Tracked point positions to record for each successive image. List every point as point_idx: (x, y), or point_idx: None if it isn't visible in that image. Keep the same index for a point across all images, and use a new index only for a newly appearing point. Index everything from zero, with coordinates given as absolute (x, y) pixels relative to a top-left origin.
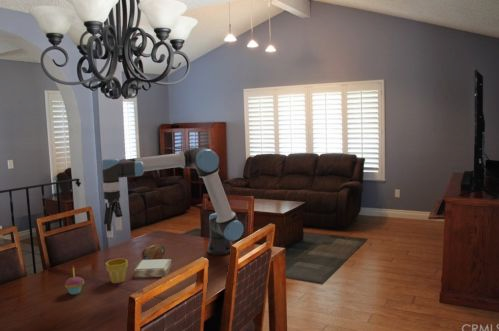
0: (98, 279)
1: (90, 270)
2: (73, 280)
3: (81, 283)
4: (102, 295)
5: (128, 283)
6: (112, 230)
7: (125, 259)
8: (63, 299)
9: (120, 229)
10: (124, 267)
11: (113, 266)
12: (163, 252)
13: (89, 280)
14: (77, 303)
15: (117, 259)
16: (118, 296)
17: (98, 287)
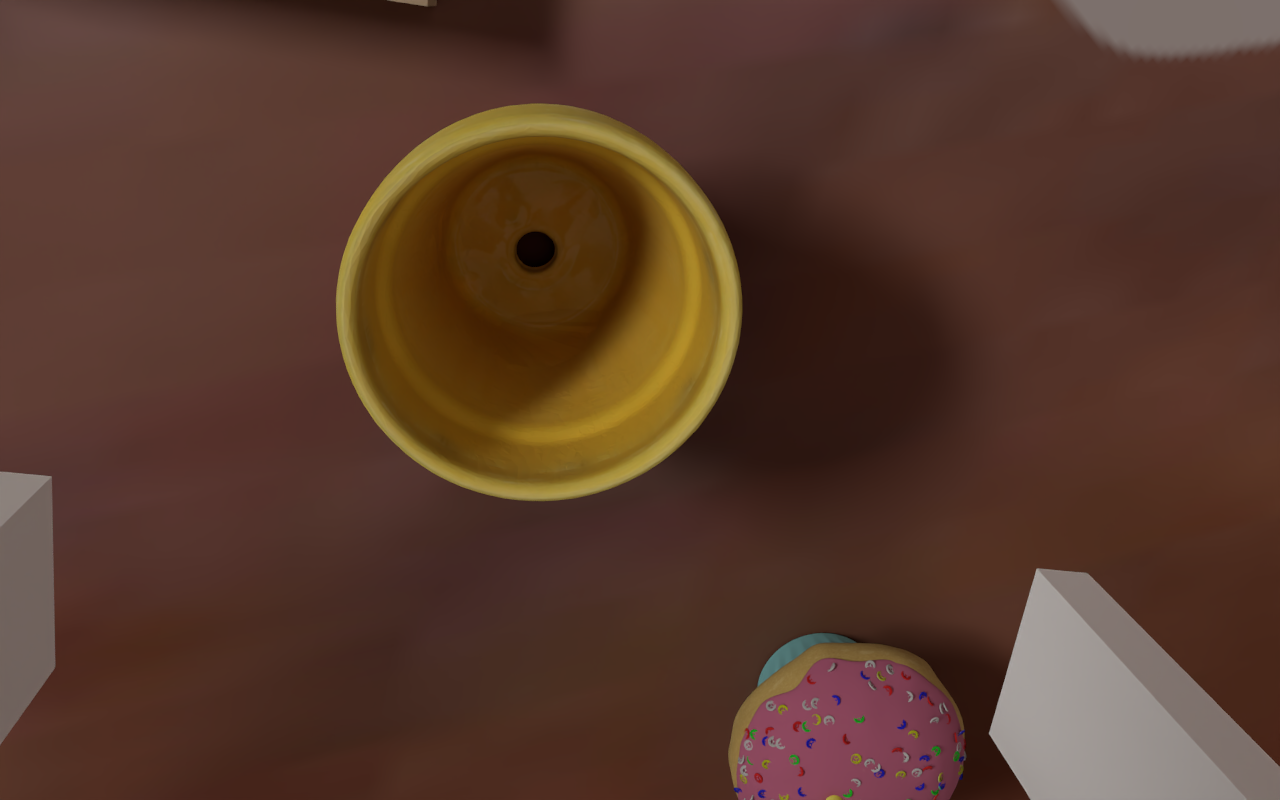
0: (429, 522)
1: (37, 707)
2: (932, 780)
3: (919, 667)
4: (1015, 352)
5: (682, 67)
6: (1192, 706)
7: (424, 168)
8: (985, 740)
9: (43, 508)
10: (660, 147)
11: (736, 338)
12: None
13: (446, 624)
14: (1150, 574)
15: (360, 335)
16: (1119, 141)
17: (729, 458)
